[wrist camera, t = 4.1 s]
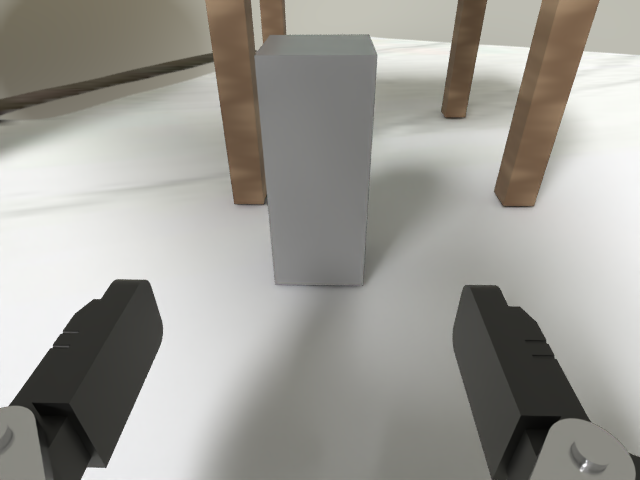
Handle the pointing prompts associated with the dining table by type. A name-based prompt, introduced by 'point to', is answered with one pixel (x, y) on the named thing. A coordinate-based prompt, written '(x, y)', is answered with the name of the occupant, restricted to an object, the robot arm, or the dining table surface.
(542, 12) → the trapdoor frame
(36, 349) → the dining table surface
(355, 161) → the grey rectangular block
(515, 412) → the robot arm
